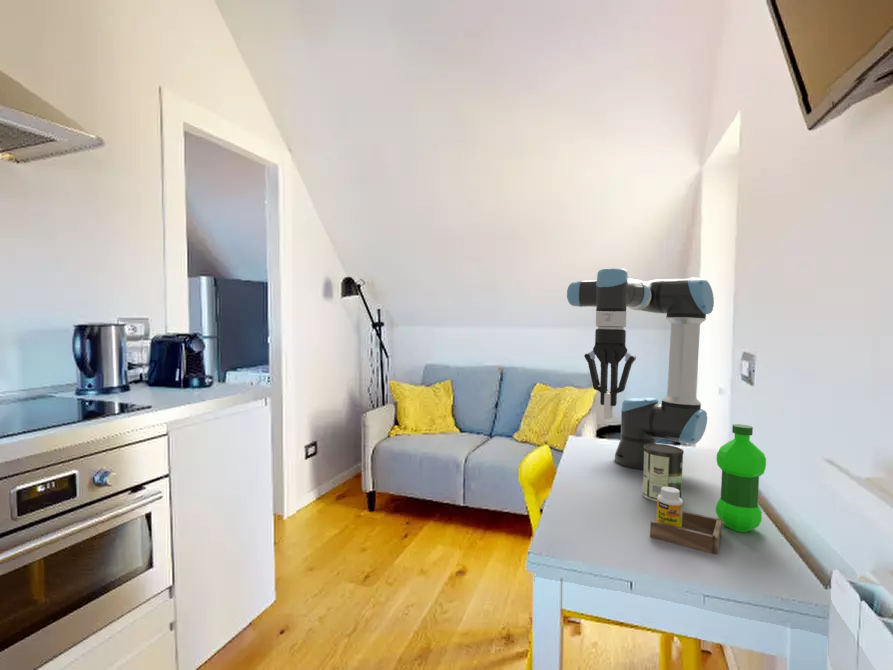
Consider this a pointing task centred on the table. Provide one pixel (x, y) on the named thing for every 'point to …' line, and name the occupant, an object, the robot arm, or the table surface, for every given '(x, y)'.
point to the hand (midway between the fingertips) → (607, 417)
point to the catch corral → (691, 532)
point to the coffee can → (661, 469)
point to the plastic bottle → (740, 481)
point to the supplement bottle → (669, 507)
